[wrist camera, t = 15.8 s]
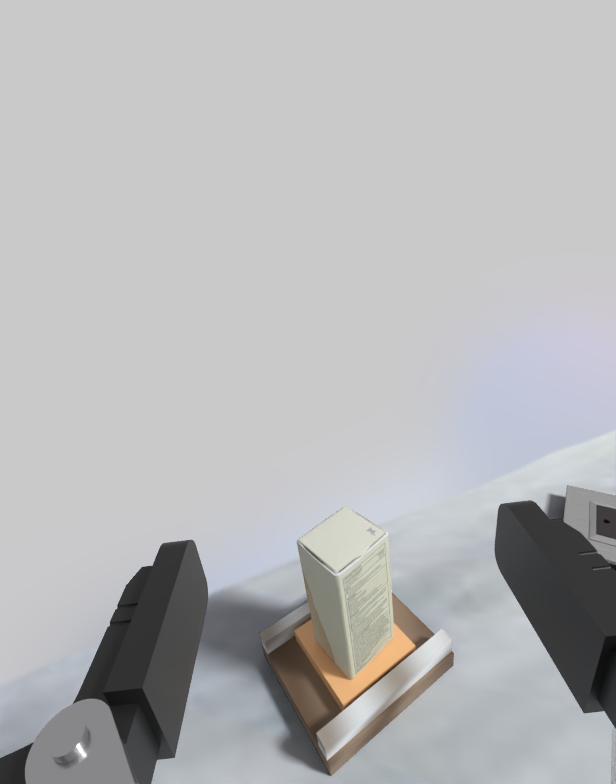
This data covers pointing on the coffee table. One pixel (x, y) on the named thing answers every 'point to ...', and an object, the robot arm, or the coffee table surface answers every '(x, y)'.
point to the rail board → (372, 709)
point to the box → (348, 588)
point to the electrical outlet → (593, 519)
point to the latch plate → (368, 677)
